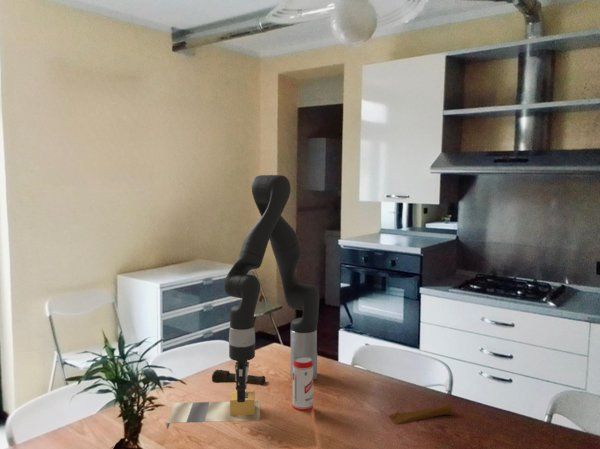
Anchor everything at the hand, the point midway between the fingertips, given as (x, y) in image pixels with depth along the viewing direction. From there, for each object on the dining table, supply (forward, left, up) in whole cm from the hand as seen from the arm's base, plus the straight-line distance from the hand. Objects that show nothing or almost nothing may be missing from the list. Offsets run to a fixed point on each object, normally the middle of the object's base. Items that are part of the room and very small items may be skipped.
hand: (242, 395), depth 140 cm
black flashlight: (+3, -21, -7) cm, 23 cm away
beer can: (-18, -2, -7) cm, 19 cm away
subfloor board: (+8, 0, -6) cm, 10 cm away
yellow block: (0, 0, -5) cm, 5 cm away
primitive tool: (-53, +4, -7) cm, 53 cm away
